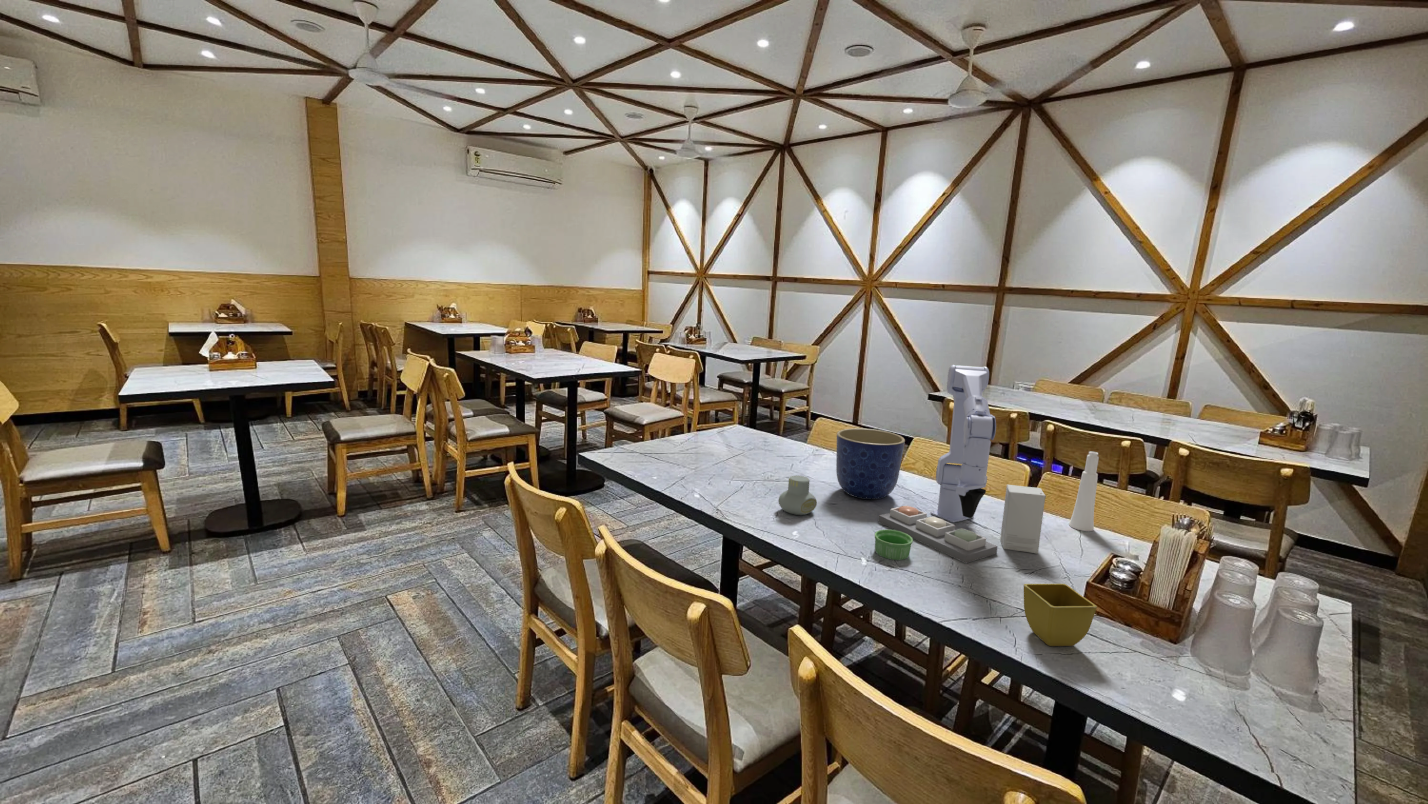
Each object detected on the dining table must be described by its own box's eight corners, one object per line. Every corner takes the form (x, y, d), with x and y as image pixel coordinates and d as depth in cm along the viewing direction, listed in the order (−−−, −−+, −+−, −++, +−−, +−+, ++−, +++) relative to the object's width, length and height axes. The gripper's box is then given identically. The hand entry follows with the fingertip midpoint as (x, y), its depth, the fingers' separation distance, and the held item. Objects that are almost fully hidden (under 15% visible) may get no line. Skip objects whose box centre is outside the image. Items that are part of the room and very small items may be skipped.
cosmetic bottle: (1095, 527, 166) (1108, 452, 162) (1091, 533, 162) (1104, 456, 158) (1071, 521, 170) (1083, 448, 166) (1066, 526, 166) (1078, 451, 162)
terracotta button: (907, 513, 165) (907, 504, 165) (921, 519, 161) (922, 510, 160) (894, 515, 162) (895, 507, 162) (908, 522, 158) (909, 513, 158)
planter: (906, 492, 189) (912, 435, 186) (888, 510, 172) (894, 448, 169) (845, 479, 200) (849, 425, 197) (822, 495, 183) (826, 436, 180)
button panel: (907, 515, 169) (909, 502, 168) (996, 553, 146) (998, 538, 145) (878, 521, 163) (879, 508, 162) (965, 563, 140) (967, 547, 139)
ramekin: (891, 564, 138) (893, 546, 137) (865, 548, 145) (866, 532, 145) (919, 557, 142) (920, 540, 141) (892, 543, 150) (893, 527, 149)
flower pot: (1015, 625, 113) (1022, 582, 112) (1058, 625, 114) (1065, 582, 112) (1044, 653, 105) (1052, 607, 103) (1090, 652, 106) (1098, 606, 104)
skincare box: (1033, 544, 152) (1042, 487, 149) (1038, 555, 146) (1047, 495, 143) (998, 539, 155) (1006, 483, 152) (1001, 549, 149) (1010, 490, 146)
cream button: (933, 524, 157) (934, 515, 157) (949, 531, 153) (950, 522, 153) (920, 527, 155) (921, 518, 154) (936, 534, 151) (937, 525, 150)
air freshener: (795, 520, 162) (797, 485, 160) (773, 511, 168) (775, 477, 166) (820, 511, 169) (822, 478, 167) (798, 503, 175) (800, 471, 173)
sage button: (962, 536, 150) (963, 528, 149) (979, 544, 146) (981, 535, 145) (949, 540, 147) (950, 531, 147) (967, 548, 143) (968, 538, 143)
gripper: (969, 455, 151) (963, 505, 153) (946, 465, 140) (939, 518, 143) (998, 461, 146) (991, 512, 148) (976, 472, 135) (969, 527, 138)
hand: (967, 516), depth 145 cm, fingers closed
